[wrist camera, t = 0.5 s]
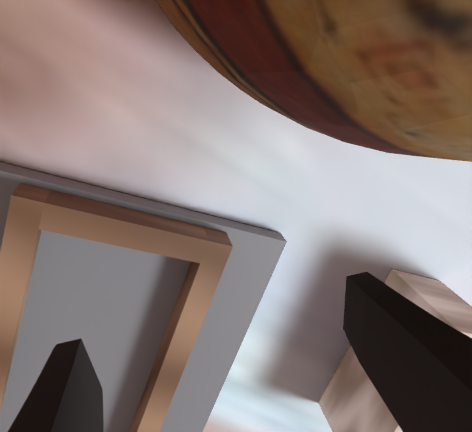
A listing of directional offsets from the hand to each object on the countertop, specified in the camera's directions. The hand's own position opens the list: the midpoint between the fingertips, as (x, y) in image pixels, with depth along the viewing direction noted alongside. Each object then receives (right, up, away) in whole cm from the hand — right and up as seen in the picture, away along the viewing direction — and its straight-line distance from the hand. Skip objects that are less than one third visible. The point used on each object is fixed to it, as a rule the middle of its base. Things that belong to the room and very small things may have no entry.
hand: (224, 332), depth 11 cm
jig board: (-8, -4, +11) cm, 14 cm away
